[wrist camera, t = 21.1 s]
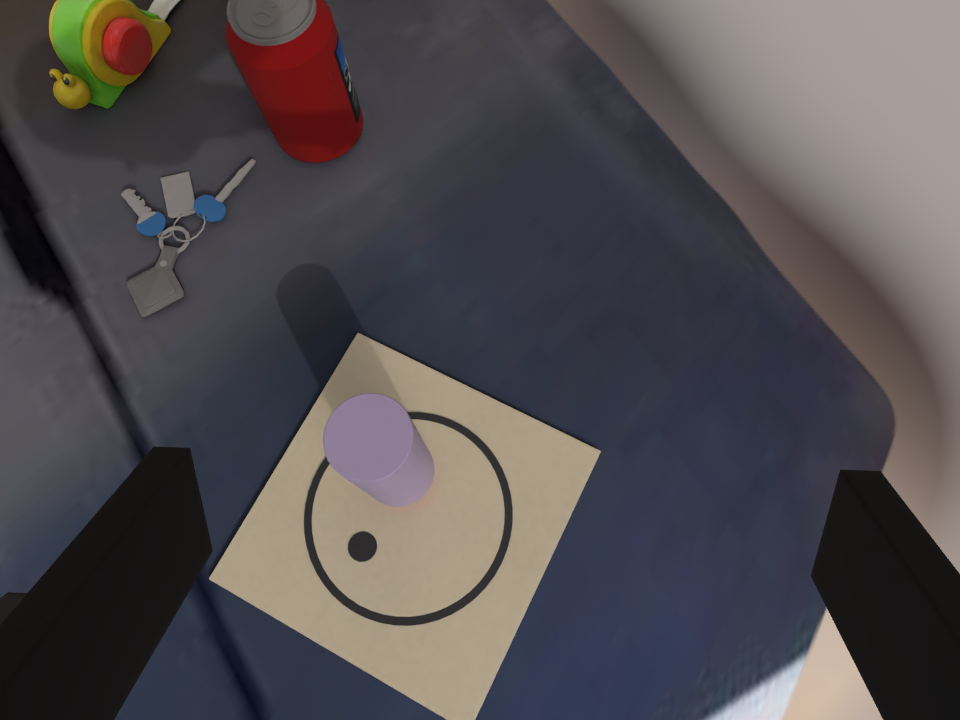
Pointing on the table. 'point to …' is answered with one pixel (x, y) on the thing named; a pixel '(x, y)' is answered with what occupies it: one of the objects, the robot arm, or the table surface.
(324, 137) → the beverage can
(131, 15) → the toy measuring tape
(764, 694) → the table surface
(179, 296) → the key chain
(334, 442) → the cylinder
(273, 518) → the beige square board
